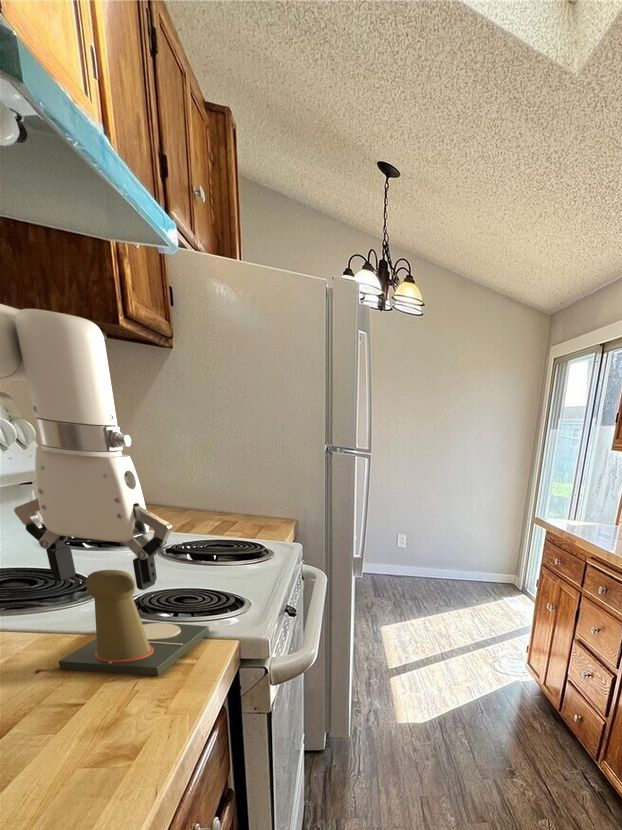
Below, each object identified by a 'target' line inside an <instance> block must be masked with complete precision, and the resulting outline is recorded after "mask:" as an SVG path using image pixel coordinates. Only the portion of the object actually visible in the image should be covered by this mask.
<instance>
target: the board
mask: <svg viewBox="0 0 622 830" xmlns="http://www.w3.org/2000/svg"><path fill="white" fill-rule="evenodd" d="M141 622H142V625H143V628H144V631H145V633H146V636H147V639H148V642H149V645H150V649H151V650H150V651H149V652H148V653H147V654H145V655H143V656H140V657H137V658H132V659H125V660H109V659H104V658H101V657H99V656H98V655H97V637H96V638H94V639H93V640H91V641H89V642H88V643H86V644H84V645H82V646H81V647H79V648H78V649H75V650H74V651H73V652H71V653H70V654H67V655H66V656H64V657H62V658H60V659H59V660H58V662H57V663H58V667H59V669H60V670H66V671H79V672H94V673H109V674H121V675H122V674H123V675H125V674H126V675H139V676H152V677H159V676H160V675H162V674H163V673H164V672H165V671H166V670H168V669H169V668H170V667H171V666H172V665H173V664H175V663H176V662H177V661H178V660H179V659H181V658H183V656H184V655H186V654H187V653H188V652H189V651H190V650H191V649H193V648H194V647H195V646H196V645H197V644H198V643H200V642H201V641H202V640H203V639H204V638H206V637H207V636H208V635H209V634H210V627H209V626H208V625H197V624H185V623H173V622H172V623H171V622H158V621H147V620H146V621H145V620H141Z"/></svg>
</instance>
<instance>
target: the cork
mask: <svg viewBox="0 0 622 830" xmlns="http://www.w3.org/2000/svg"><path fill="white" fill-rule="evenodd" d="M85 587H86V591H87V593H88V594H89V595H90V596H91V597H92V598H94V616H95V634H96V636H95V637H96V638H97V655H98V656H99V657H101V658H104V659H109V660H125V659H132V658H137V657H140V656H143V655H145V654H147V653H148V652H149V651H150V650H151V649H150V645H149V642H148V639H147V636H146V633H145V631H144V628H143V625H142V622H141V621H142V619H141V617H140V614H139V611H138V608H137V605H136V602H135V599H134V596H133V595H134V594H135V592H136V580H135V578H134V577H133V576H132V575H131V574H130V573H129V572H127V571H124V570H122V569H121V570H120V569H103V570H101V569H100V570H96V571H93V572H92V573H90V574H88V575H87V577H86V579H85Z"/></svg>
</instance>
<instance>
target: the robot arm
mask: <svg viewBox="0 0 622 830" xmlns="http://www.w3.org/2000/svg"><path fill="white" fill-rule="evenodd" d="M106 348H107V347H106V343H105V337H104V334H103V332H102V330H101V329H100V327H99V326H98V325H97V324H95V323H94V321H91V320H89V319H86V318H84V317H81V316H76V315H72V314H68V313H62V312H57V311H51V310H45V309H39V308H23V309H19V308H15V307H13V306H9V305H6V304H2V303H0V381H1V380H3V381H14V382H15V381H17V382H18V381H20V382H21V381H25V382H26V381H27V388H28V392H29V396H30V402H31V406H32V411H33V416H34V421H35V425H36V430H37V435H38V440H39V443H40V446H36V447H35V454H34V455H35V458H34V473H35V485H36V495H37V498H34V499H32V500H30V501H27V502H25V503H23V504H19V505H17V506H15V507H14V508H13V512H14V514H15V515H16V516H17V518H18V519H19V520H20V522H21V524H23V525H24V526H25V530H26V532H27V533H28V534H30V536H32V537H33V538H34V539H35V540H36V541H38V545H39V547H41V548H42V549H44V550H45V551H46V555H47V560H48V565H49V569H50V571H51V572H52V576H53V579H54V581H55V582H63V581H65V580H68V579H70V578H72V577H74V576H76V574H77V572H76V567H75V562H74V558H73V553H72V548H71V546H70V544H66V543H65V542H66V541H67V540H68V538H69V537H70V538H77V539H78V538H79V539H88V540H96V541H103V542H104V541H105V542H112V543H113V542H115V543H123V544H125V545H126V547H127V548H128V549H129V550H130V551H131V552H132V553H133V554H134V555H135V556H136V557H135V558H133V559H132V564H133V571H134V580H135V586H136V588H137V589H138V590H140V591H145V590H147V589H149V588H150V587H152V586H155V584H156V581H157V578H158V577H157V569H156V563H155V556H156V555H157V554H158V552H160V550H161V549H162V548H163V547H164V546H166V545H167V542H168V541H167V540H168V539H169V537H170V535H171V532H172V531H173V525H172V524H171V523H169V522H168V521H167V520H165V519H163V518H161V517H159V516H158V515H156V514H154V513H152V512H150V510H147V507H146V503H145V499H144V495H143V490H142V487H141V483H140V481H139V478H138V474H137V471H136V468H135V465H134V463H133V461H132V458H131V456H130V455H129V454H123V453H122V451H123V448H124V447H126V448H127V447H128V448H129V447H131V445H132V439H131V437H130V435H129V434H126V433H122V432H121V431H120V430H121V429H120V426H118V421H117V415H116V414H117V413H116V407H115V400H114V393H113V388H112V387H113V386H112V381H111V380H112V379H111V374H110V368H109V362H108V361H109V360H108V355H107V349H106ZM39 512H40V514H41V519H42V522H41V521H40V518H39V517H38V513H39ZM150 528H151V529H152V530H153V536H152V538H151V539H149V538H148V537H147V536H146V535H148V534H149V531H150Z"/></svg>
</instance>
